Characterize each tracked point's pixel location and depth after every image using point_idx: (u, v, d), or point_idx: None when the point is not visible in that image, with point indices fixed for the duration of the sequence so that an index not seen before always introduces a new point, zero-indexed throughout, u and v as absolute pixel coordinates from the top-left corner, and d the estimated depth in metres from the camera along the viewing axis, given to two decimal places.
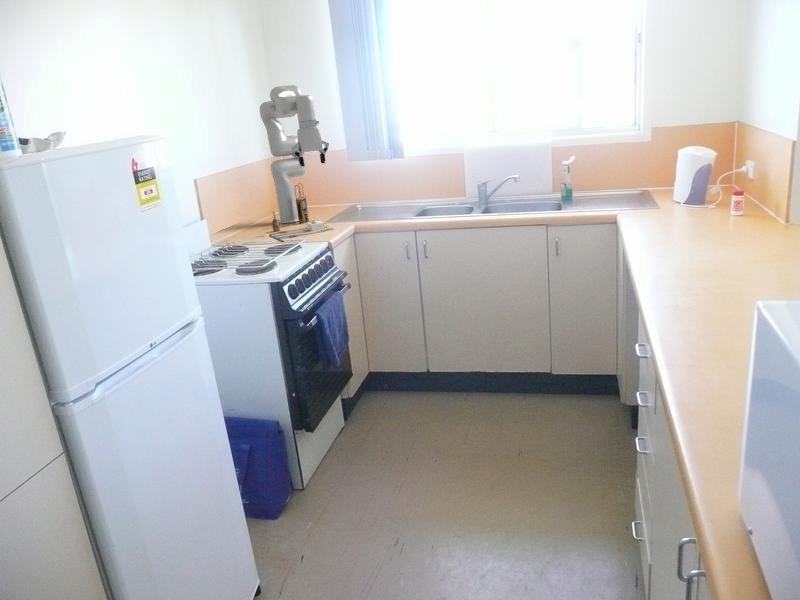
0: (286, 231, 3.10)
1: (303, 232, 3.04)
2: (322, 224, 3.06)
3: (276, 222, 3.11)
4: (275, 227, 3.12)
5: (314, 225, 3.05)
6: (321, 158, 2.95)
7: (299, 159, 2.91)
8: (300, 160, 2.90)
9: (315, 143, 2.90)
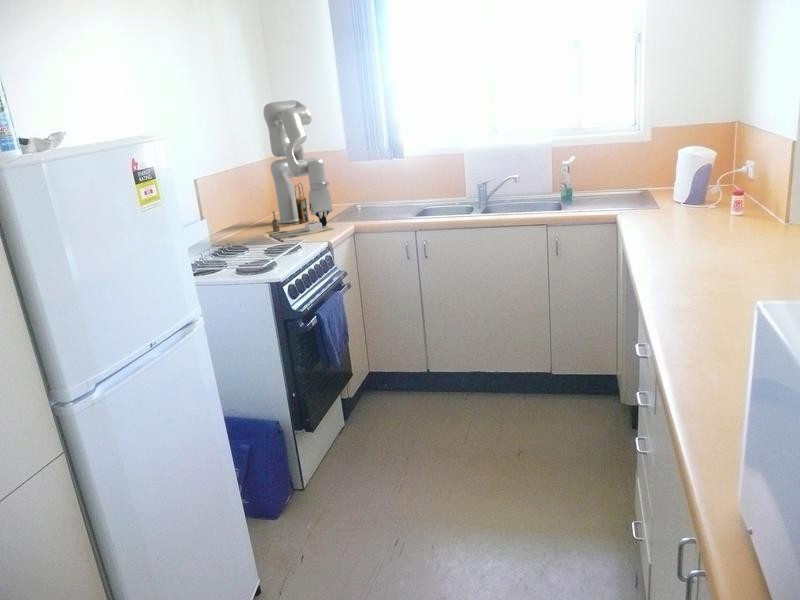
0: (286, 231, 3.10)
1: (303, 232, 3.04)
2: (320, 224, 3.06)
3: (276, 222, 3.11)
4: (275, 227, 3.12)
5: (312, 225, 3.04)
6: None
7: (319, 220, 3.09)
8: (320, 221, 3.08)
9: (325, 204, 3.06)
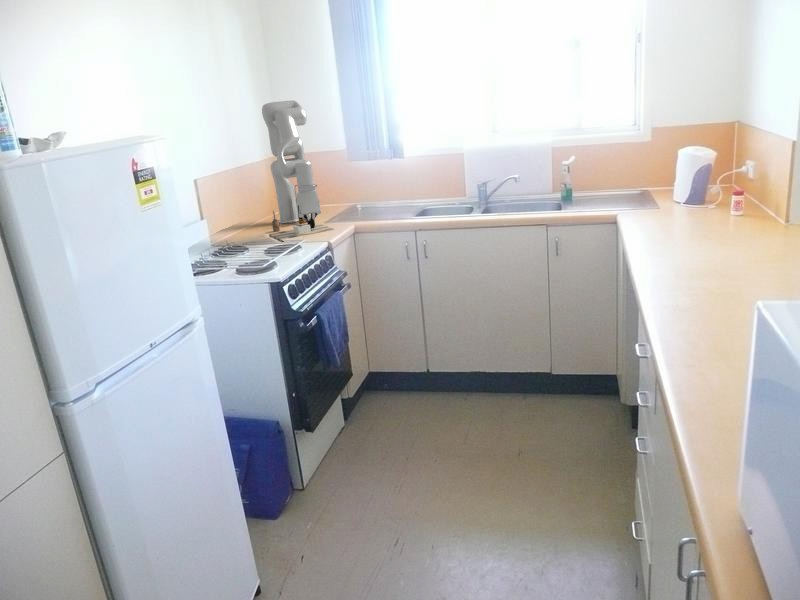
0: (286, 231, 3.10)
1: None
2: (309, 227, 3.03)
3: (276, 222, 3.11)
4: (275, 227, 3.12)
5: (301, 228, 3.01)
6: None
7: (307, 222, 3.06)
8: (308, 223, 3.05)
9: (313, 206, 3.03)
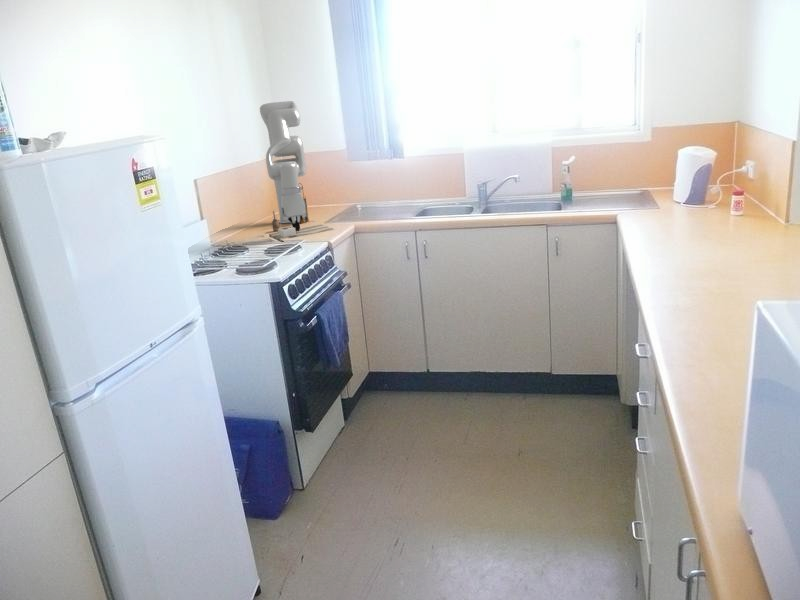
0: None
1: (303, 232, 3.04)
2: (294, 230, 3.00)
3: (276, 222, 3.11)
4: (275, 227, 3.12)
5: (285, 231, 2.98)
6: None
7: (292, 225, 3.03)
8: (293, 226, 3.02)
9: (298, 208, 3.00)
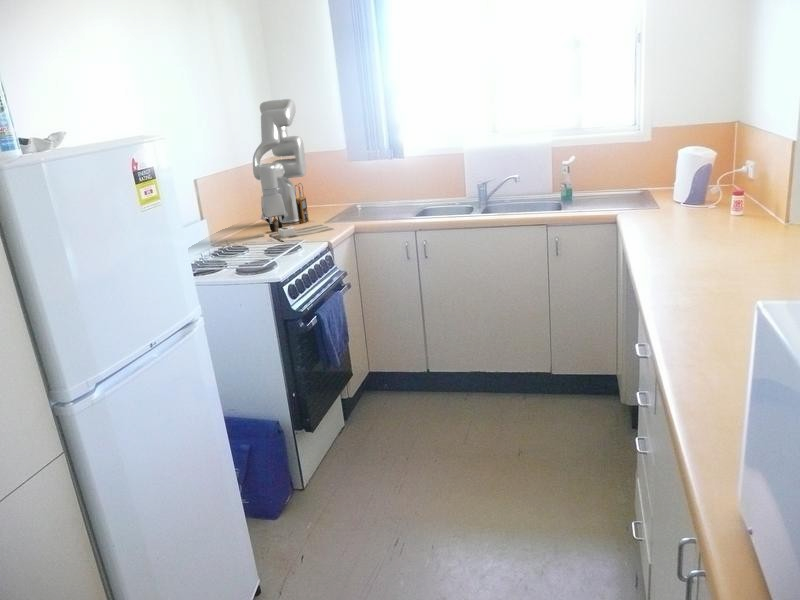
0: None
1: (303, 232, 3.04)
2: (294, 230, 3.00)
3: (276, 222, 3.11)
4: (275, 227, 3.12)
5: (285, 231, 2.98)
6: None
7: (270, 225, 3.12)
8: (271, 226, 3.11)
9: (278, 209, 3.09)
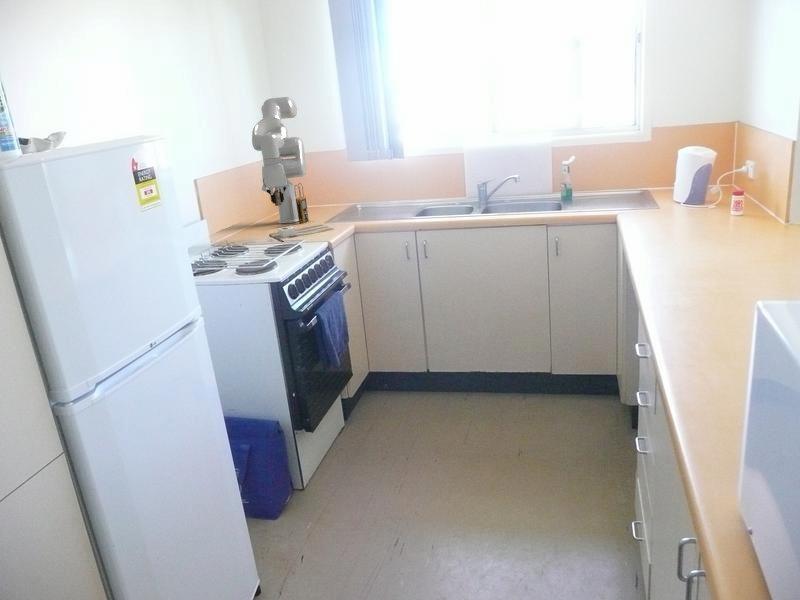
0: None
1: (303, 232, 3.04)
2: (294, 230, 3.00)
3: (277, 193, 3.02)
4: (276, 198, 3.03)
5: (285, 231, 2.98)
6: None
7: (271, 197, 3.03)
8: (272, 198, 3.02)
9: (279, 179, 3.00)
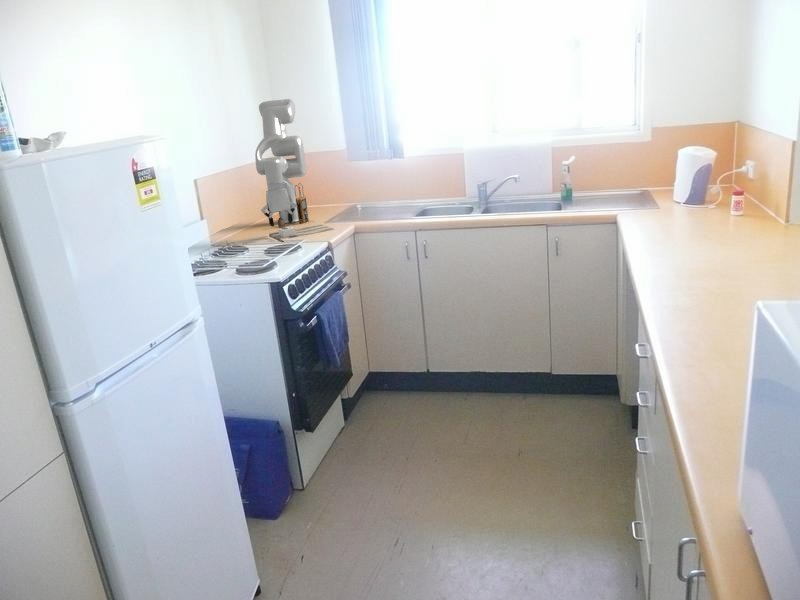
0: None
1: (303, 232, 3.04)
2: (294, 230, 3.00)
3: (282, 221, 3.06)
4: (281, 226, 3.06)
5: (285, 231, 2.98)
6: (288, 218, 3.09)
7: (269, 219, 3.05)
8: (270, 221, 3.04)
9: (283, 204, 3.04)
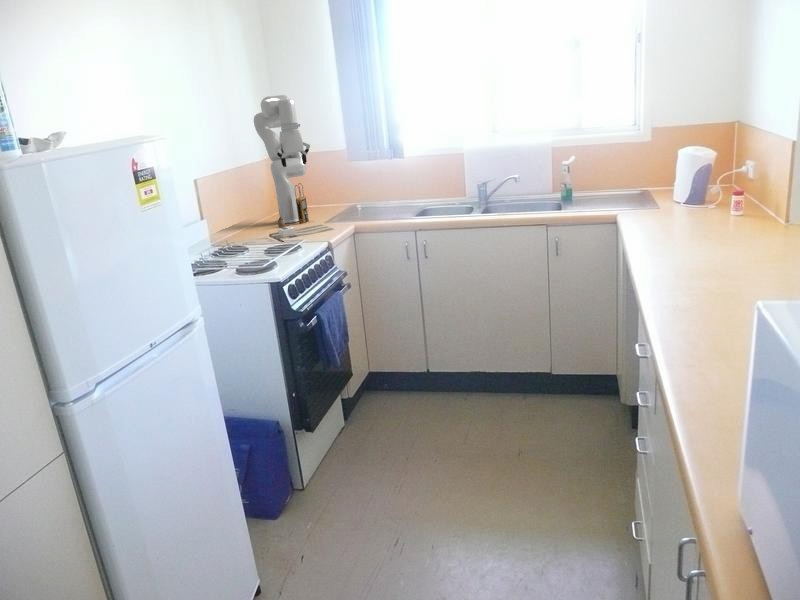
0: None
1: (303, 232, 3.04)
2: (294, 230, 3.00)
3: (282, 220, 3.06)
4: (281, 226, 3.06)
5: (285, 231, 2.98)
6: (302, 159, 3.11)
7: (281, 160, 3.06)
8: (282, 161, 3.06)
9: (296, 145, 3.05)
